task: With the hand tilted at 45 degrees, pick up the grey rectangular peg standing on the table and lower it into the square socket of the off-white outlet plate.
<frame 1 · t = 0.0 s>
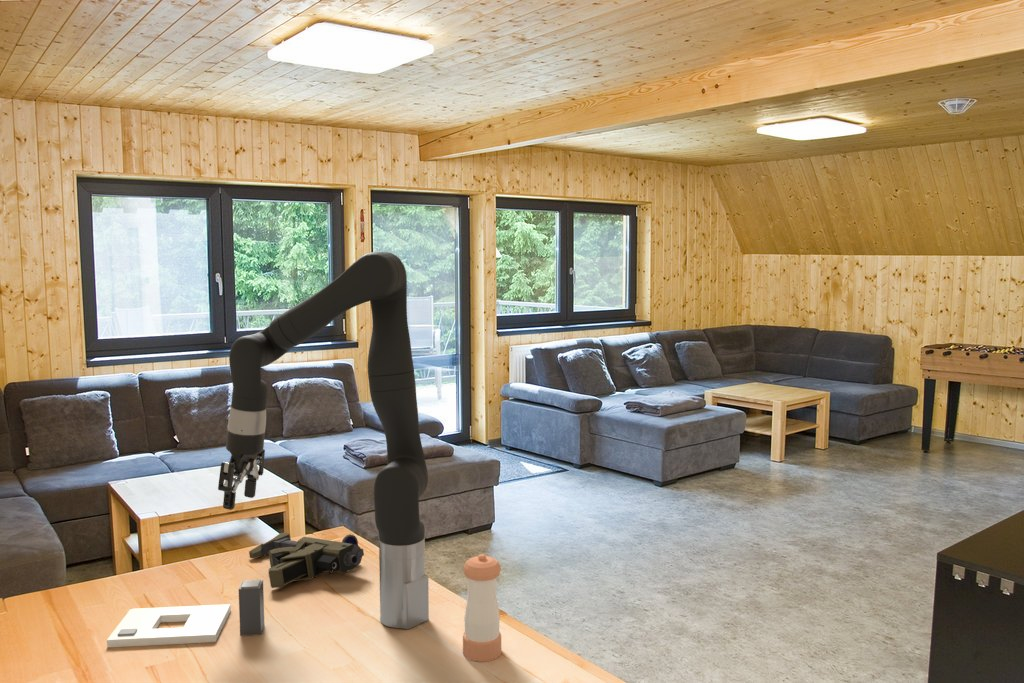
hand: (239, 502, 178), 22 cm above the table, tool pointing down, fingers open, 8 cm apart
outlet plate: (171, 628, 169), on the table
futuristic firearm: (300, 571, 199), on the table
pepper shaker: (482, 653, 159), on the table
grey rectangular peg: (252, 630, 168), on the table
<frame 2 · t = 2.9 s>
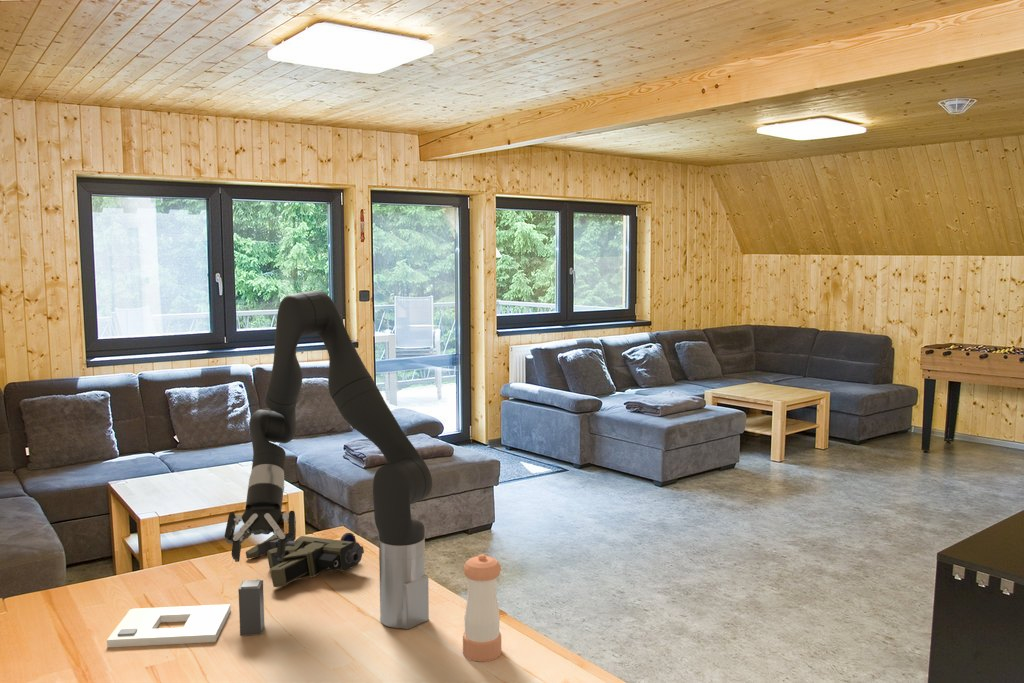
hand: (257, 559, 174), 12 cm above the table, tool tilted 45°, fingers open, 8 cm apart
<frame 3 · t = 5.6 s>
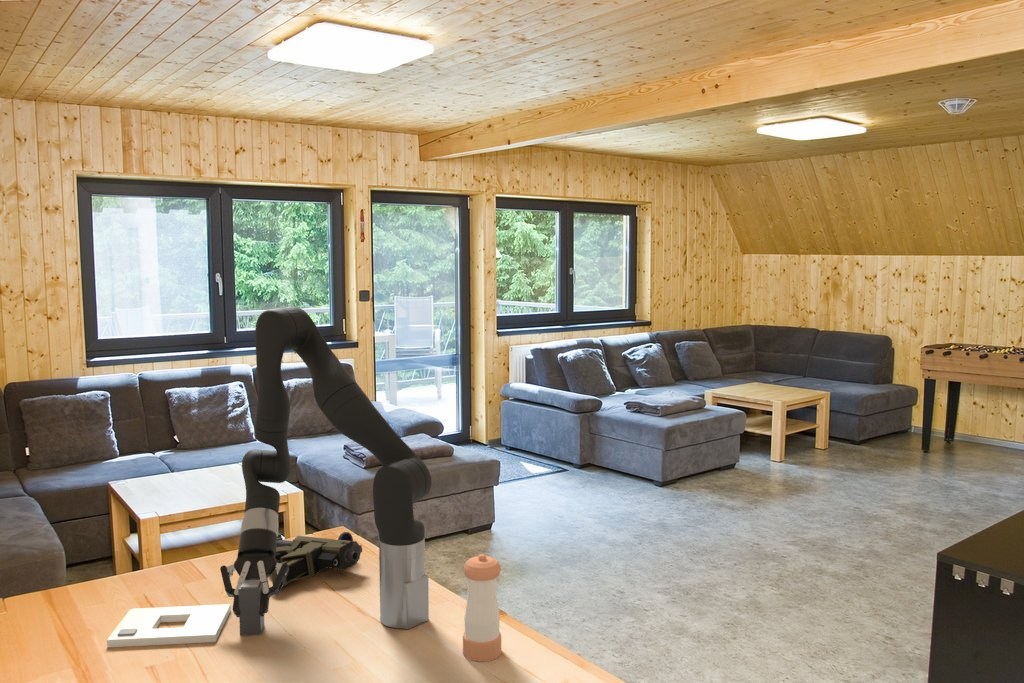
hand: (250, 615, 166), 4 cm above the table, tool tilted 45°, fingers closed on grey rectangular peg, 4 cm apart
grey rectangular peg: (252, 630, 168), on the table, touching gripper
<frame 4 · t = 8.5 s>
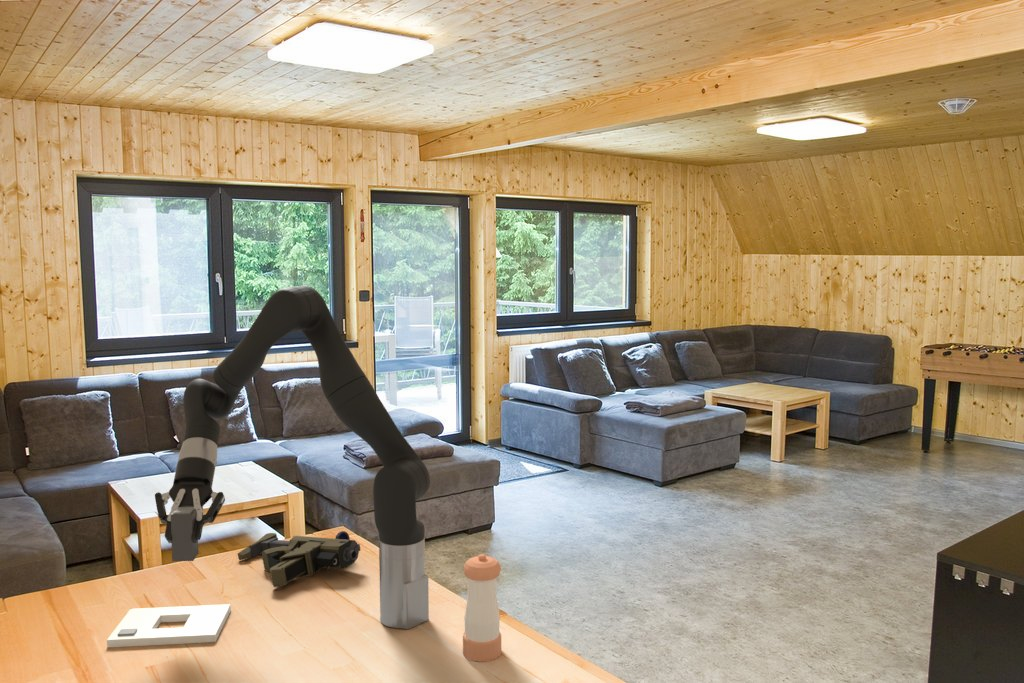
hand: (182, 541, 165), 19 cm above the table, tool tilted 45°, fingers closed on grey rectangular peg, 4 cm apart
grey rectangular peg: (185, 557, 167), point 15 cm above the table, touching gripper
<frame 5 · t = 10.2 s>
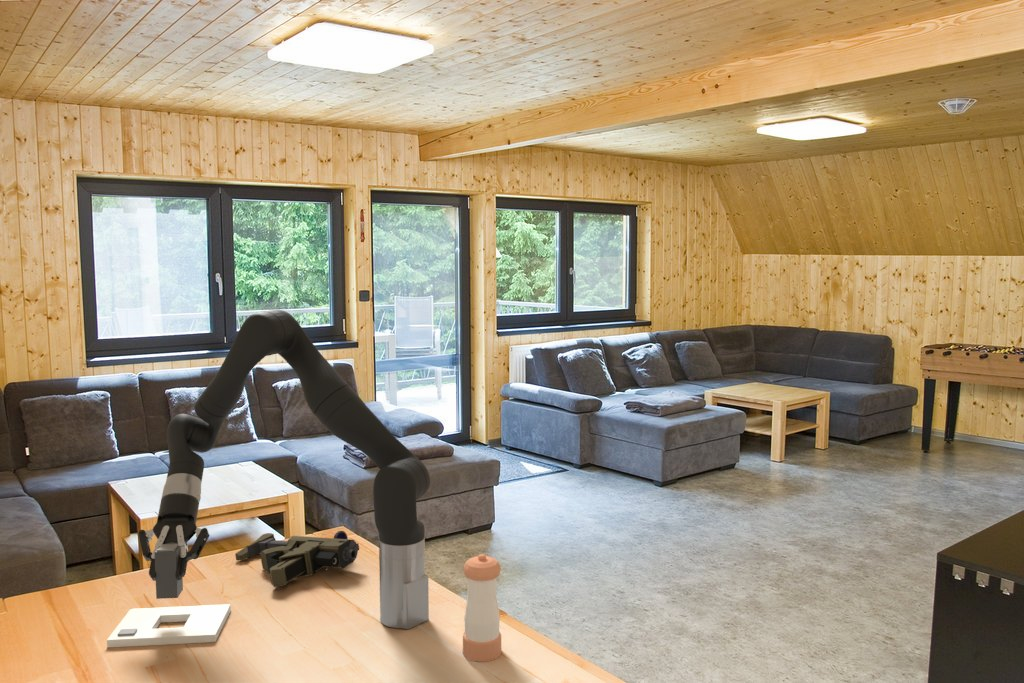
hand: (166, 578, 166), 11 cm above the table, tool tilted 45°, fingers closed on grey rectangular peg, 4 cm apart
grey rectangular peg: (169, 594, 168), point 7 cm above the table, touching gripper
when the fingers open (5 cm above the table, at t = 11.6 s): grey rectangular peg drops 1 cm, resting in outlet plate.
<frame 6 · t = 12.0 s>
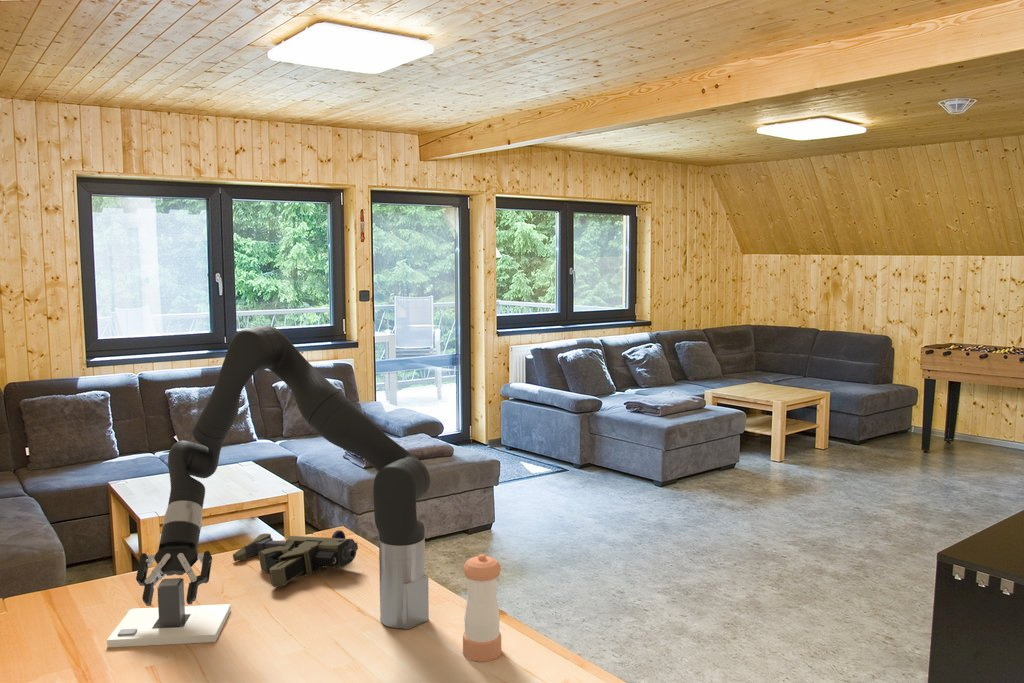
hand: (168, 603, 167), 6 cm above the table, tool tilted 45°, fingers open, 7 cm apart
grey rectangular peg: (172, 628, 169), resting in outlet plate
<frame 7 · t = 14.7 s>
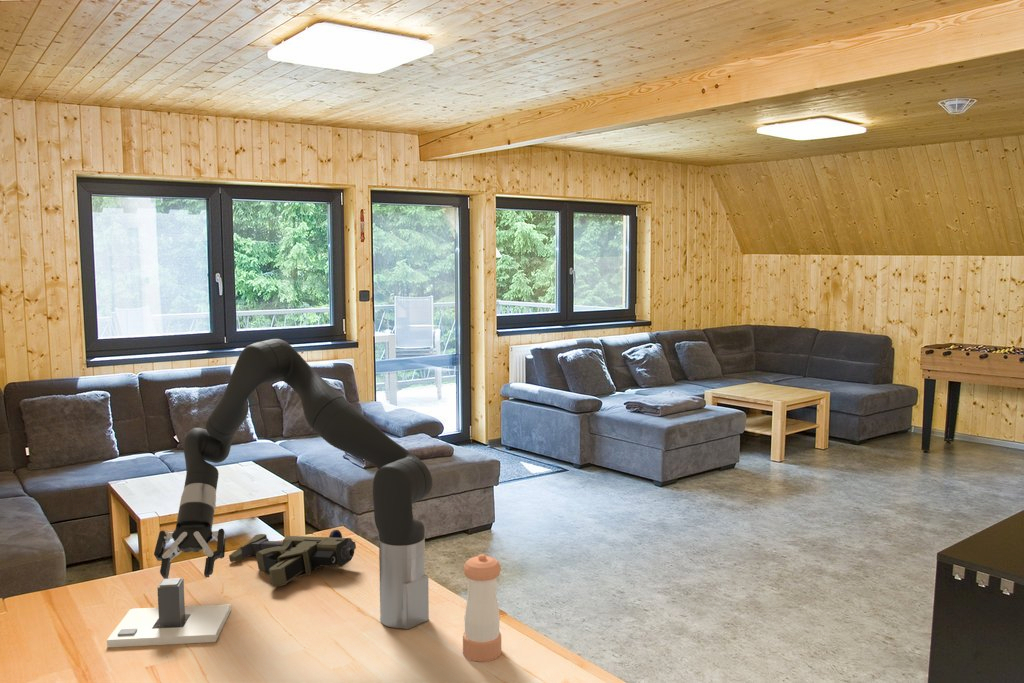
hand: (185, 576, 179), 6 cm above the table, tool tilted 45°, fingers open, 8 cm apart
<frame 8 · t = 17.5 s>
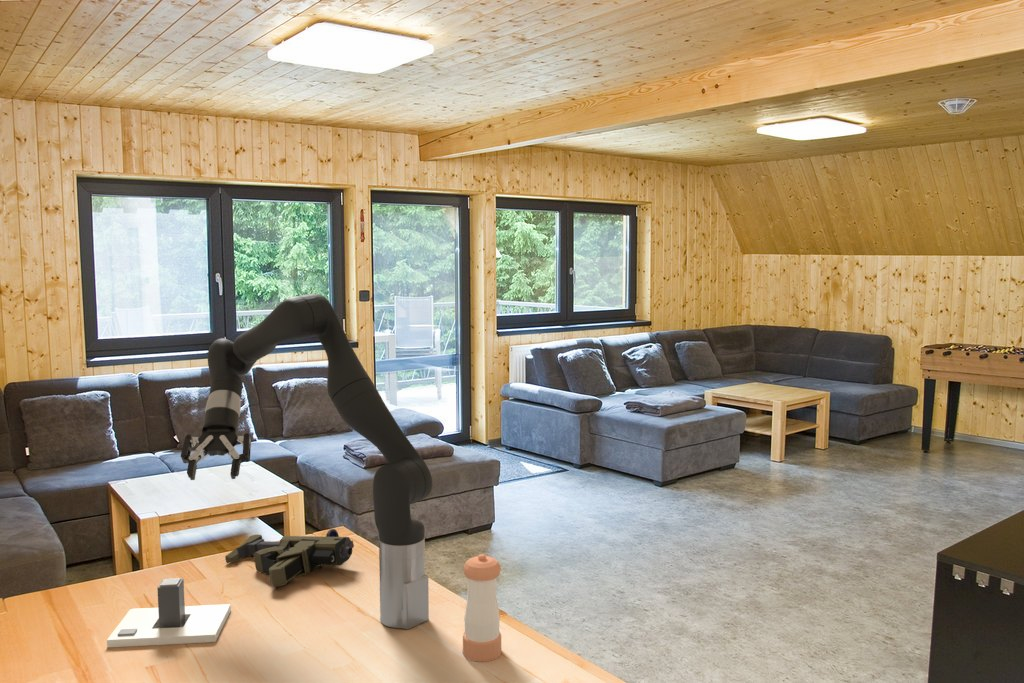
hand: (212, 477, 181), 27 cm above the table, tool tilted 45°, fingers open, 8 cm apart
at the end: grey rectangular peg 0.1 cm off-centre on the outlet plate, point 0.0 cm above the outlet plate's base; grey rectangular peg tilted 0°; the gripper is holding nothing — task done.
